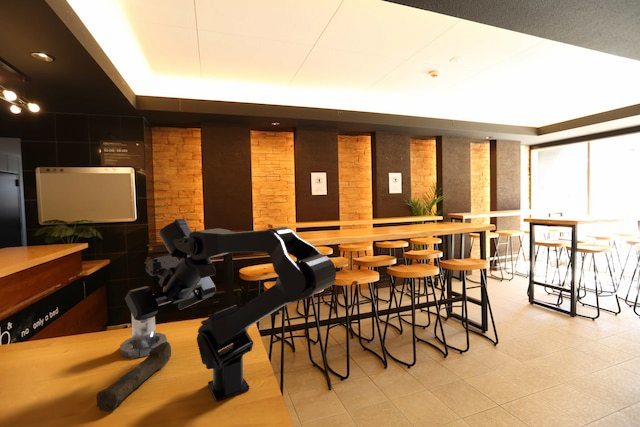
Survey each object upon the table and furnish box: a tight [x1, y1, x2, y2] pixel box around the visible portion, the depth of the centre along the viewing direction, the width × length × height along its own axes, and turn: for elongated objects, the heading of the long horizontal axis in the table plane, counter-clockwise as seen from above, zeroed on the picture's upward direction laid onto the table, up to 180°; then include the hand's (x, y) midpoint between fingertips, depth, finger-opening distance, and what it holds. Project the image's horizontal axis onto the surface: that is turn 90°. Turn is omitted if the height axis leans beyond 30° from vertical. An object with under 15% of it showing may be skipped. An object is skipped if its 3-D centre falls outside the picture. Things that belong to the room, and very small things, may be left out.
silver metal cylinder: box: [131, 293, 157, 349], centre depth 77 cm, size 5×5×13 cm
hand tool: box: [95, 341, 172, 412], centre depth 63 cm, size 19×4×5 cm, turn 170°
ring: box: [119, 332, 168, 359], centre depth 77 cm, size 10×10×2 cm
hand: (161, 314), depth 72 cm, fingers open, 9 cm apart
